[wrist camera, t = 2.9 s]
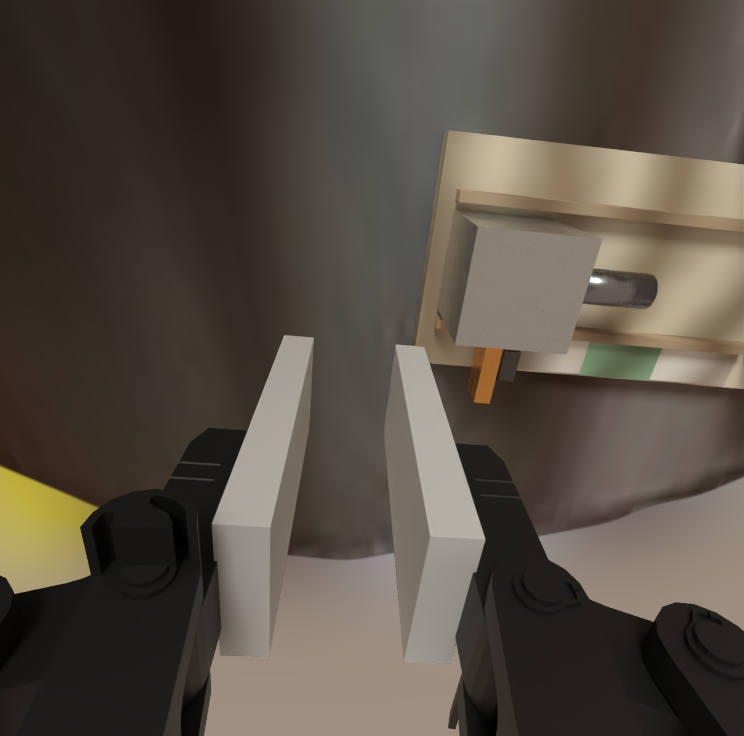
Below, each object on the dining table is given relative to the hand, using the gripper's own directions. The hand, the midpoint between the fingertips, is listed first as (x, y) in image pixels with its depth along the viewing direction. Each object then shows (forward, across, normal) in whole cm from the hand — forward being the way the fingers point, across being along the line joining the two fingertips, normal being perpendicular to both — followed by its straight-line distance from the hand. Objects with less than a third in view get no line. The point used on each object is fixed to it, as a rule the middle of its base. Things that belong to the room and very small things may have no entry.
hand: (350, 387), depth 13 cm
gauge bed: (+18, +18, 0) cm, 25 cm away
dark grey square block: (+17, +10, -6) cm, 20 cm away
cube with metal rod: (+17, +11, -2) cm, 20 cm away
